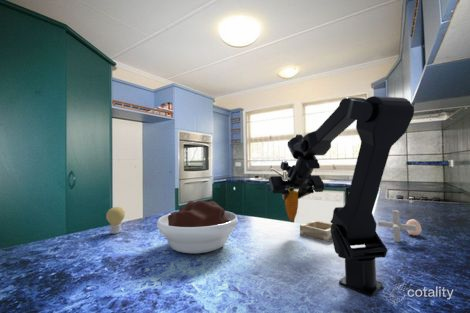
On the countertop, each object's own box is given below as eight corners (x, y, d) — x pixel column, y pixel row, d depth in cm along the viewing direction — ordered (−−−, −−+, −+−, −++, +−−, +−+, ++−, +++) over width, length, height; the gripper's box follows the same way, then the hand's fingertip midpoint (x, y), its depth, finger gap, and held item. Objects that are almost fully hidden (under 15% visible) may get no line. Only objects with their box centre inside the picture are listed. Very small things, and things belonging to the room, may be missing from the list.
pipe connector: (417, 248, 66) (415, 215, 66) (378, 242, 72) (376, 211, 72) (415, 239, 74) (414, 210, 74) (380, 234, 80) (379, 207, 80)
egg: (403, 234, 80) (402, 218, 80) (410, 232, 82) (409, 217, 82) (417, 237, 76) (416, 221, 76) (424, 236, 78) (423, 219, 78)
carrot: (290, 219, 83) (289, 179, 84) (301, 221, 79) (300, 180, 80) (282, 221, 80) (281, 180, 81) (294, 224, 76) (292, 180, 77)
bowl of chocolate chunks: (138, 255, 63) (138, 203, 64) (190, 231, 86) (190, 193, 87) (211, 272, 53) (211, 209, 53) (249, 240, 75) (249, 196, 76)
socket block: (327, 241, 73) (326, 231, 73) (300, 234, 81) (299, 225, 81) (341, 235, 79) (341, 225, 79) (315, 229, 87) (315, 220, 88)
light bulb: (119, 235, 82) (119, 208, 83) (102, 235, 82) (102, 208, 83) (127, 230, 89) (127, 205, 89) (112, 230, 89) (112, 205, 89)
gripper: (319, 152, 79) (305, 181, 89) (269, 152, 75) (261, 183, 86) (333, 175, 70) (316, 204, 81) (278, 176, 67) (267, 206, 77)
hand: (289, 198), depth 81 cm, fingers closed on carrot, 5 cm apart
